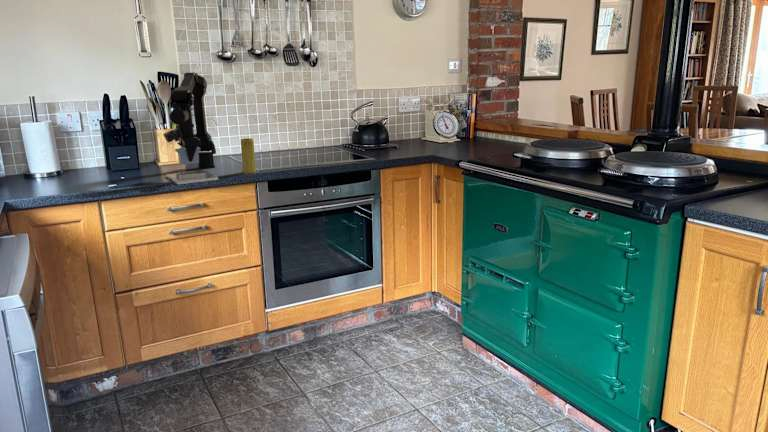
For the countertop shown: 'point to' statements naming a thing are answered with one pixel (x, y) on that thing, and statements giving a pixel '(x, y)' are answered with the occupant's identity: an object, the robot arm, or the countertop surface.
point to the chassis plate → (191, 177)
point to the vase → (248, 156)
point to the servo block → (184, 158)
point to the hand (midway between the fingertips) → (189, 160)
